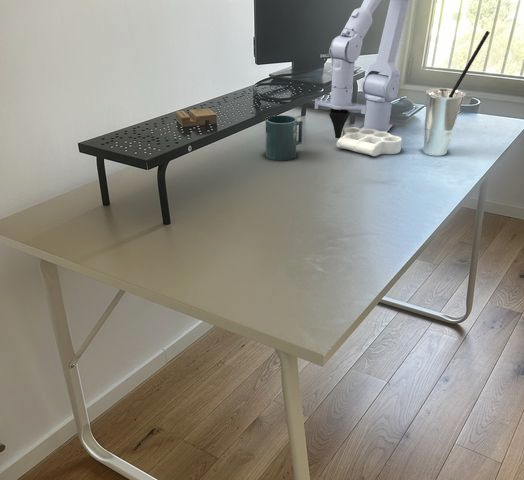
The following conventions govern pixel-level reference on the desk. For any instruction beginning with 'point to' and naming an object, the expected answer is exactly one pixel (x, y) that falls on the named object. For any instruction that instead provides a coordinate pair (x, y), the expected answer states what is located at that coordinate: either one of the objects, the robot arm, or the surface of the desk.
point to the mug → (282, 137)
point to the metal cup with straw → (444, 112)
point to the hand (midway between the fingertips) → (338, 137)
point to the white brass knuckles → (369, 141)
